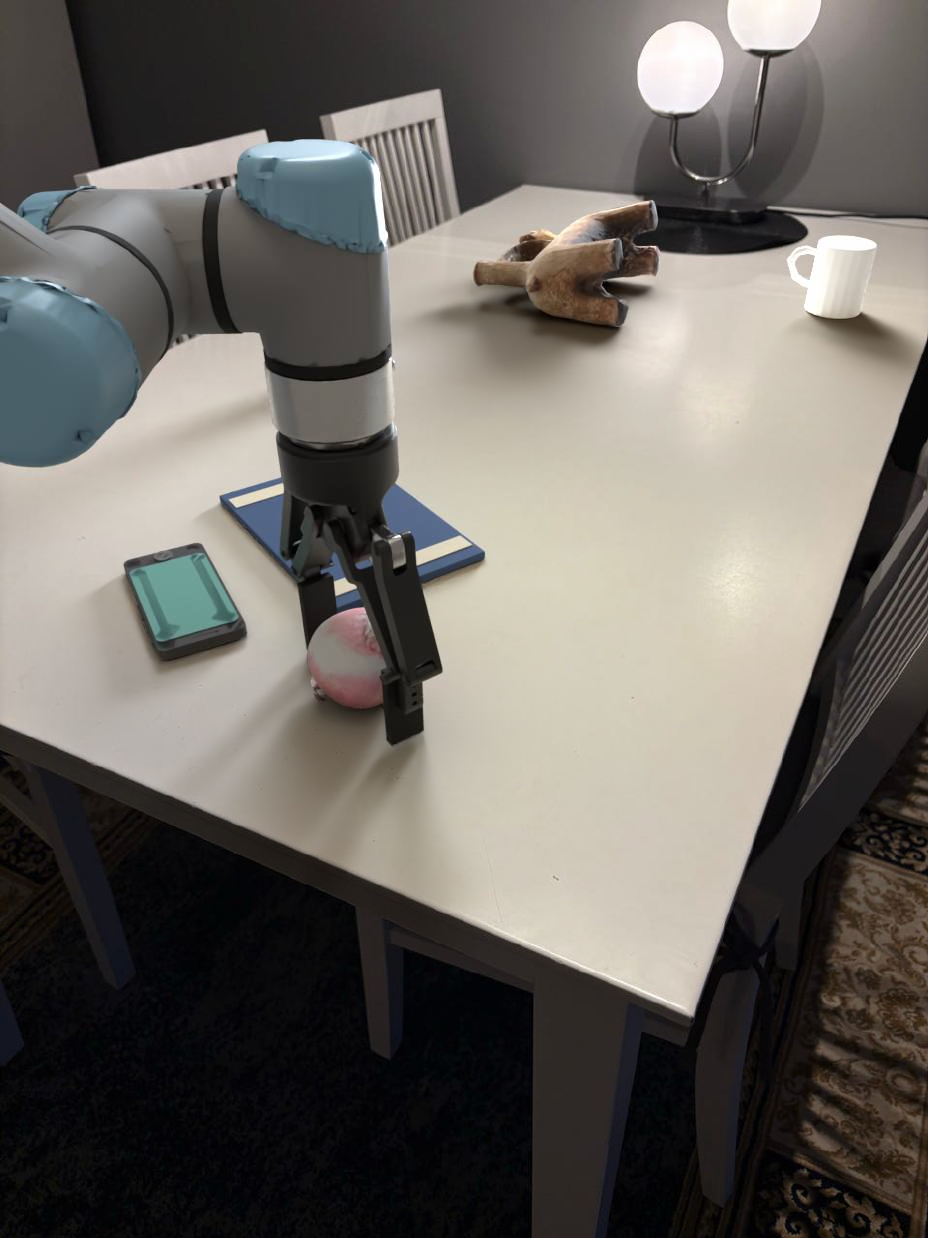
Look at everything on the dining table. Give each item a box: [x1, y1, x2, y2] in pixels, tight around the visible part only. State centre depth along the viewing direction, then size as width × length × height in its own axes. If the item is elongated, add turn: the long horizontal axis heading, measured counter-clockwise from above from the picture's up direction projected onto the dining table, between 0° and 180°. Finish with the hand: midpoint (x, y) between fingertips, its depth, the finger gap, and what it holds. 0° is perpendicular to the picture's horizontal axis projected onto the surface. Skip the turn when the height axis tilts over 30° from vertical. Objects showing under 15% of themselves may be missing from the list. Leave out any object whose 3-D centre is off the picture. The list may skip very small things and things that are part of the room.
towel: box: [219, 476, 486, 613], centre depth 88 cm, size 24×16×1 cm, turn 35°
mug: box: [786, 235, 878, 320], centre depth 136 cm, size 8×12×10 cm
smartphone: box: [122, 542, 248, 661], centre depth 78 cm, size 7×1×15 cm
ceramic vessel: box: [472, 199, 661, 328], centre depth 142 cm, size 13×31×25 cm
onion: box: [306, 607, 387, 710], centre depth 67 cm, size 8×8×7 cm
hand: (362, 688), depth 69 cm, fingers open, 12 cm apart
